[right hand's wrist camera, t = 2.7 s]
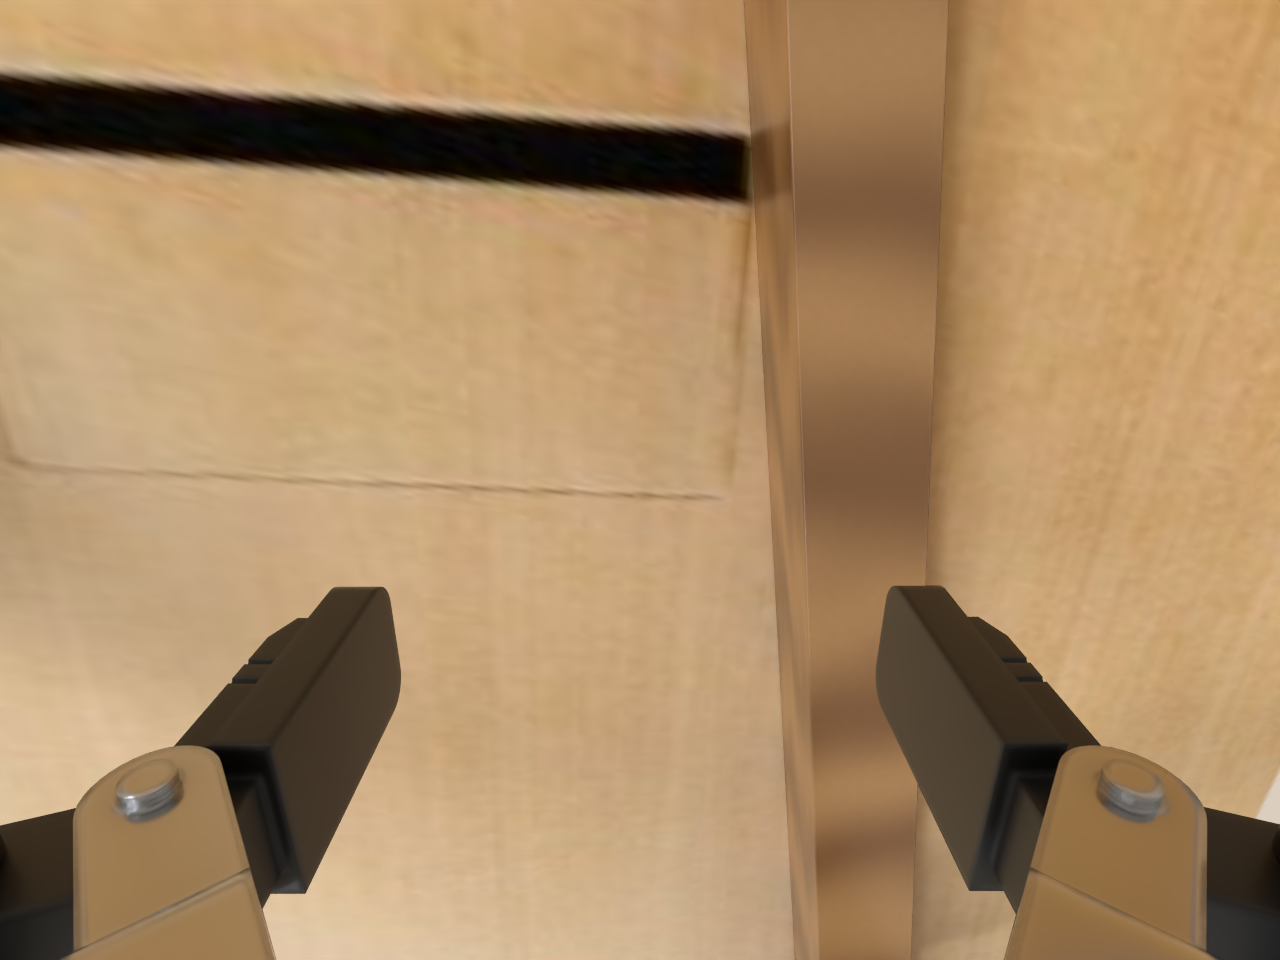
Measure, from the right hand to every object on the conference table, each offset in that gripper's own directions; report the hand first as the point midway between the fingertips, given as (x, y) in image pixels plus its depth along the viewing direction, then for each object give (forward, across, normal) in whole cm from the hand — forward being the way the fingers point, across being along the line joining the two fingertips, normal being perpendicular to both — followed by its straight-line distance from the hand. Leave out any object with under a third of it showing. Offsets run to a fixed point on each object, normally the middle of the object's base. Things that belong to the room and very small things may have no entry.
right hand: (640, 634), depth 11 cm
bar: (+21, +9, -12) cm, 26 cm away
